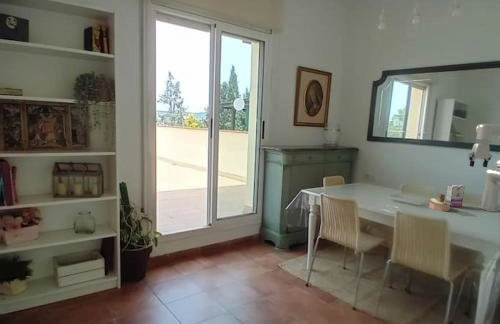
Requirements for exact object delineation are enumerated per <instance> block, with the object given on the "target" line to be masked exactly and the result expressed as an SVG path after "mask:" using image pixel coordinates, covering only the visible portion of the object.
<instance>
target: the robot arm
mask: <svg viewBox="0 0 500 324" xmlns="http://www.w3.org/2000/svg"><path fill="white" fill-rule="evenodd" d="M475 132H476V138H475V143H474V144H473V146H472V149H471V151H470V153H468V154H467V156H468V157H467V158H468V159H469V167H474V166H475V160H476V159H479V160H483V162H482V167H483V168H486V170H485V171H484V188H483V193H482V199H481V204H480V205H478V209H480V210H484V211H488V212H500V204H499V199H500V155H499V156H498V158H497V159H496V160H495V162H494V164H493V167H488V164H489V162H490V160H491V159H492V158H493V154H491V153H490V143H491V141H490V138H491V137H498V138H499V137H500V124H494V123H493V124H492V123H490V124H489V123H479V124H478V125H476V127H475Z"/></svg>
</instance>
